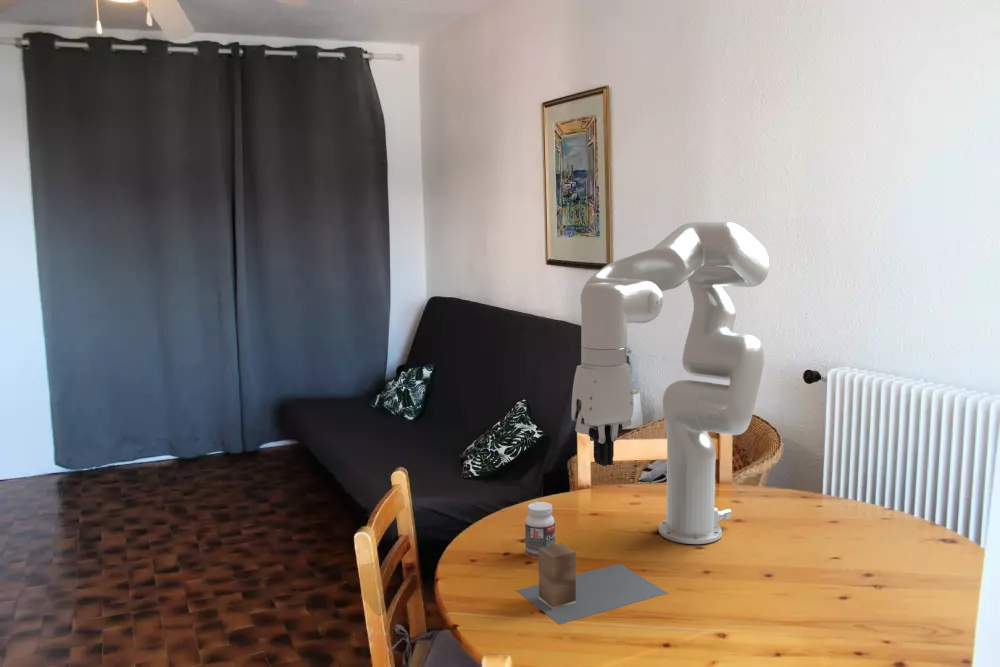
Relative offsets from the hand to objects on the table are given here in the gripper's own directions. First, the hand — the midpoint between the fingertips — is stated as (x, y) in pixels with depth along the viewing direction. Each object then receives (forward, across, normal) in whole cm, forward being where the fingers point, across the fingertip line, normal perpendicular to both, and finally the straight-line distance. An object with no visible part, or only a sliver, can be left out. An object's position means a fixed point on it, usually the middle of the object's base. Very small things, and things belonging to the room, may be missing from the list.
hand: (603, 463), depth 143 cm
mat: (+23, +2, 0) cm, 23 cm away
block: (+23, +9, 0) cm, 24 cm away
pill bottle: (+23, +1, -19) cm, 30 cm away
